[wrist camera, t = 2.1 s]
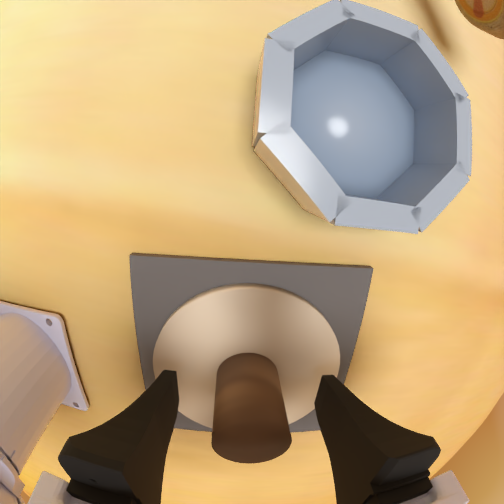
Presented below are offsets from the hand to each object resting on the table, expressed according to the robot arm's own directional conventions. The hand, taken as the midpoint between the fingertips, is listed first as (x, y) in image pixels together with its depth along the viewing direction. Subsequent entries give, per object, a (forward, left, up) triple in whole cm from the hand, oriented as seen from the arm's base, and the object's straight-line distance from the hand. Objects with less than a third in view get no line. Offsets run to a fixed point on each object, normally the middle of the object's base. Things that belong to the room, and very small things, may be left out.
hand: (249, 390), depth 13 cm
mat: (0, 0, -2) cm, 2 cm away
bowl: (+4, +13, -2) cm, 14 cm away
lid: (0, 0, -2) cm, 2 cm away
